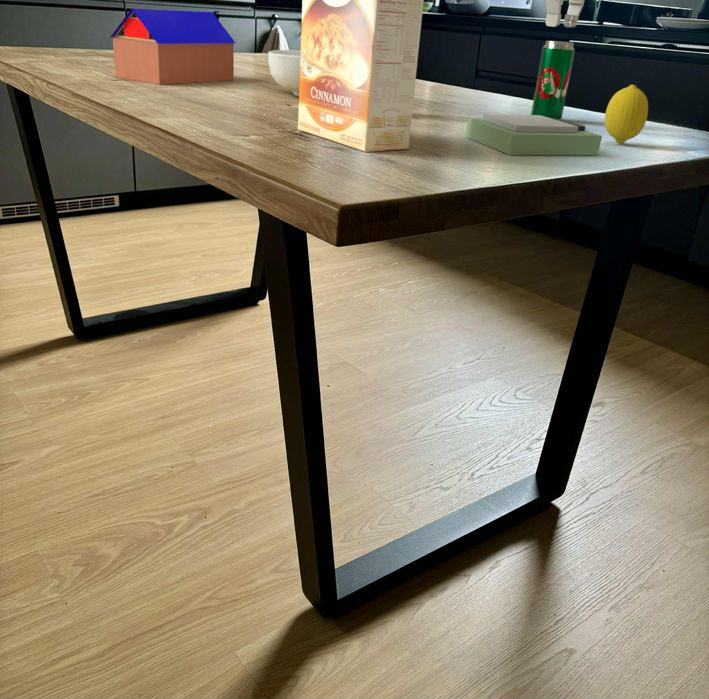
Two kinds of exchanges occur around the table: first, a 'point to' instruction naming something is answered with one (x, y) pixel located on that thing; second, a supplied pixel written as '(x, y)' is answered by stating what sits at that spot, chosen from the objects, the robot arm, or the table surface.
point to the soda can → (553, 79)
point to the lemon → (626, 114)
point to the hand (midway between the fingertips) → (561, 26)
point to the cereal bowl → (286, 68)
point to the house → (172, 47)
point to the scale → (532, 135)
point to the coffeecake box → (359, 71)
